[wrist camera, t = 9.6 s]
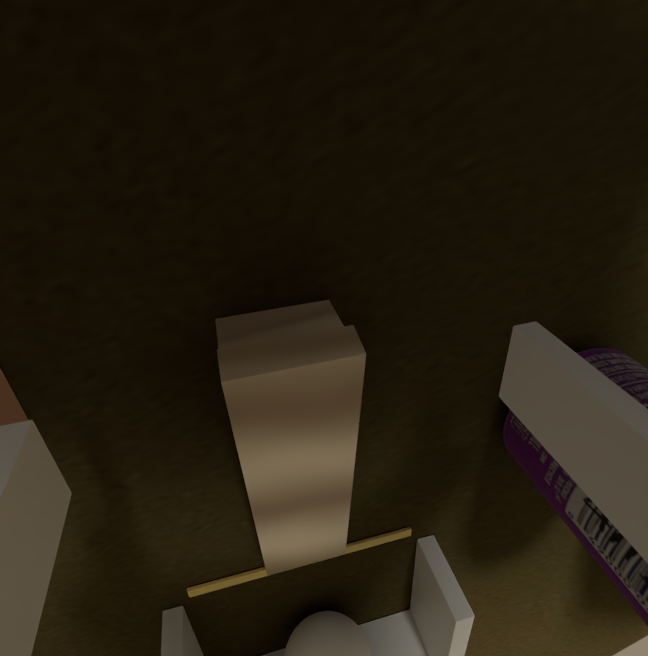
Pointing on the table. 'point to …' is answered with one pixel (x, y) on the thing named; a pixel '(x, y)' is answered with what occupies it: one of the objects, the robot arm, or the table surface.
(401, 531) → the line
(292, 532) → the ramp
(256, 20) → the table surface
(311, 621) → the ball
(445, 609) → the fence
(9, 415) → the salmon pink box
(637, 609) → the beverage can
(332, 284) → the table surface
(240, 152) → the table surface
